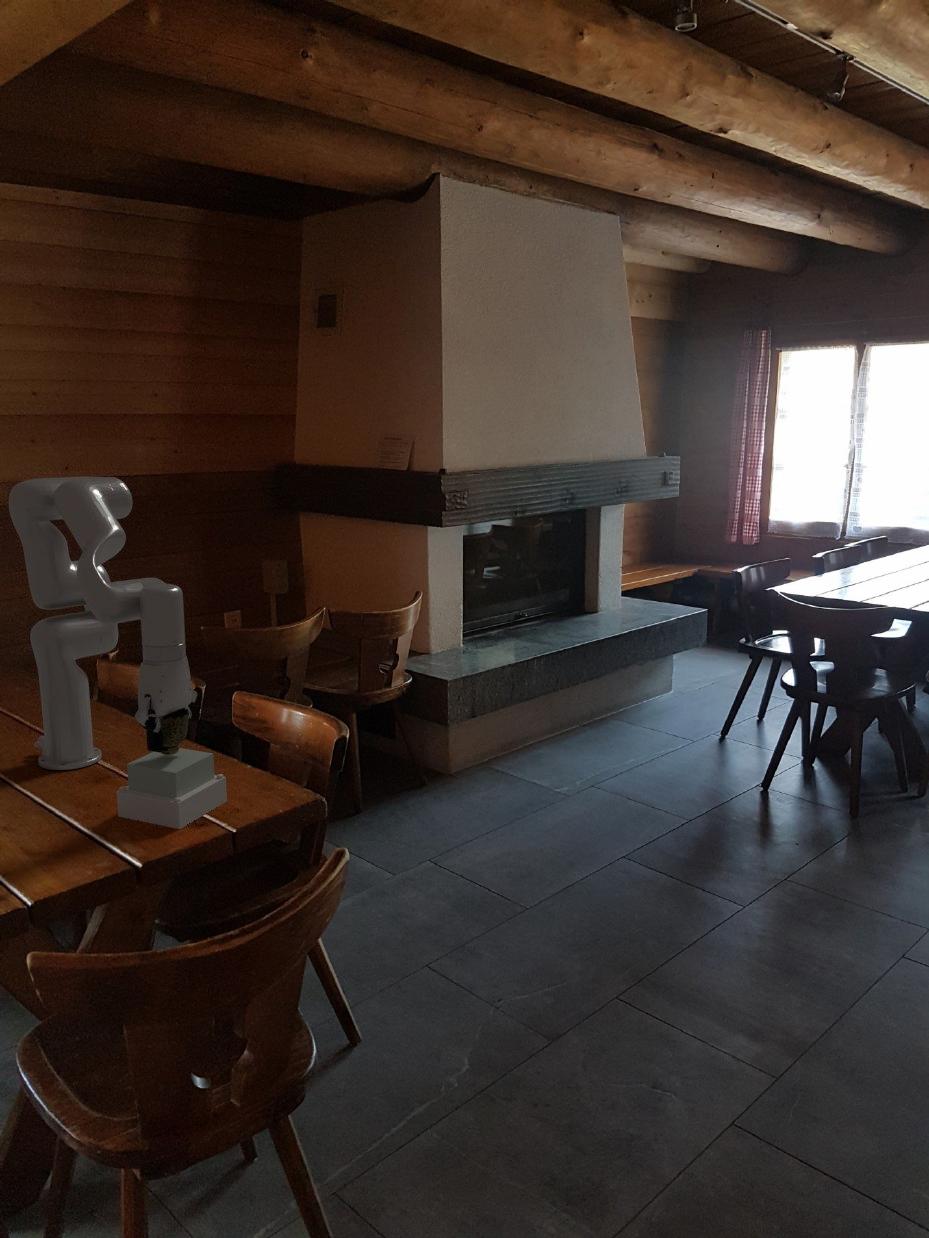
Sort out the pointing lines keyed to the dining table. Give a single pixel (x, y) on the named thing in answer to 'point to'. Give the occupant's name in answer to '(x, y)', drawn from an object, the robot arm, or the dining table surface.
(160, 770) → the grey stacking block
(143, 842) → the dining table surface
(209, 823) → the dining table surface
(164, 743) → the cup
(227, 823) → the dining table surface
